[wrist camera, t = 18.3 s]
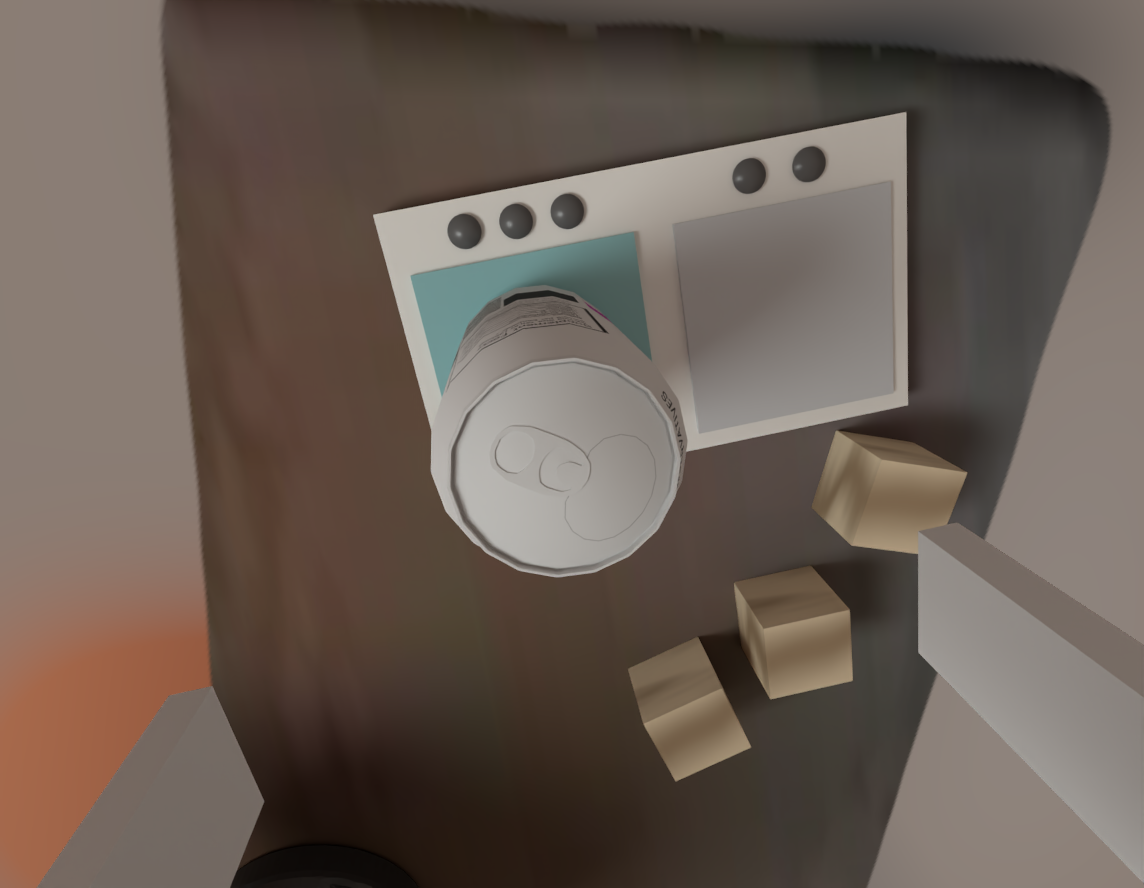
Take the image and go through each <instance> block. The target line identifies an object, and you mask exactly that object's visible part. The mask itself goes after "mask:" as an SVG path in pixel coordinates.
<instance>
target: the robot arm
mask: <svg viewBox="0 0 1144 888" xmlns="http://www.w3.org/2000/svg"><path fill="white" fill-rule="evenodd" d="M918 653H919V654H920V655H921V656H922V657H923V658H924V659H925V660H926V661H927V662H928V663H929V664H930V665H931V666H932V667H933V668H934V669H935V670H936V671H937V672H938V673H939V674H940V675H941V676H942V677H943V678H944V679H945V680H946V681H947V682H948V683H949V684H950V685H951V686H952V687H953V688H954V689H955V690H956V691H957V692H958V694H959V695H961V697H962V698H963V699H964V700H965V701H966V702H967V703H968V704H969V705H970V706H971V707H972V708H973V709H974V710H975V711H976V712H977V713H978V714H979V715H980V716H981V717H982V718H983V719H984V720H985V721H986V722H987V723H988V724H989V725H990V726H991V727H992V728H993V729H994V730H995V731H996V732H997V733H998V735H1000V736H1001V738H1002V739H1004V741H1005V742H1006V743H1008V745H1009V746H1010V747H1011V748H1012V749H1013V750H1014V751H1015V752H1016V753H1017V754H1018V755H1019V756H1020V757H1021V758H1022V759H1023V760H1024V761H1025V762H1026V763H1027V764H1028V765H1029V766H1030V767H1031V768H1032V769H1033V770H1034V771H1035V772H1036V773H1037V774H1038V776H1039V777H1040V778H1042V780H1043V781H1044V782H1045V783H1046V784H1047V785H1048V786H1049V787H1050V788H1051V789H1052V790H1053V791H1054V792H1055V793H1056V794H1057V795H1058V796H1059V797H1060V798H1061V799H1062V800H1063V801H1064V802H1065V803H1066V804H1067V805H1068V806H1069V807H1070V808H1071V809H1072V810H1073V811H1074V812H1075V813H1076V814H1077V815H1078V817H1079V818H1080V819H1081V820H1083V822H1084V823H1085V824H1086V825H1087V826H1088V827H1089V828H1090V829H1091V830H1092V831H1093V832H1094V833H1095V834H1096V835H1097V836H1098V837H1099V838H1100V839H1101V840H1102V841H1103V842H1104V843H1105V844H1106V845H1107V846H1108V847H1109V848H1110V849H1111V850H1112V851H1113V852H1114V853H1115V854H1116V855H1117V857H1118V858H1119V859H1120V860H1122V862H1123V863H1124V864H1125V865H1126V866H1127V867H1128V868H1129V869H1130V870H1131V871H1132V872H1133V873H1134V874H1135V875H1136V876H1137V877H1138V878H1139V879H1140V880H1141V881H1142V882H1143V883H1144V645H1143V644H1141V643H1140V642H1138V641H1137V640H1135V639H1134V638H1132V637H1131V636H1129V635H1128V634H1126V633H1125V632H1123V631H1122V630H1120V629H1119V628H1117V627H1116V626H1114V625H1113V624H1111V623H1110V622H1108V621H1106V620H1105V619H1103V618H1102V617H1100V616H1099V615H1097V614H1096V613H1094V612H1093V611H1091V610H1090V609H1088V608H1087V607H1085V606H1083V605H1082V604H1081V603H1079V602H1077V601H1076V600H1074V599H1073V598H1071V597H1070V596H1068V595H1067V594H1065V593H1064V592H1062V591H1060V590H1059V589H1058V588H1056V587H1055V586H1053V585H1052V584H1050V583H1049V582H1047V581H1046V580H1044V579H1042V578H1041V577H1039V576H1038V575H1036V574H1035V573H1033V572H1032V571H1030V570H1029V569H1027V568H1026V567H1024V566H1023V565H1021V564H1020V563H1018V562H1017V561H1015V560H1014V559H1012V558H1011V557H1009V556H1007V555H1006V554H1004V553H1003V552H1001V551H1000V550H998V549H997V548H995V547H994V546H992V545H991V544H989V543H988V542H986V541H985V540H983V539H982V538H980V537H979V536H977V535H976V534H974V533H972V532H971V531H969V530H968V529H966V528H965V527H963V526H962V525H960V524H959V523H953V524H948V525H944V526H939V527H935V528H930V529H926V530H921V531H918ZM263 804H264V800H263V797H262V795H261V793H260V791H259V789H258V786H257V784H256V782H255V780H254V777H253V775H252V773H251V771H250V769H249V766H248V764H247V762H246V760H245V758H244V755H243V753H242V751H241V749H240V747H239V744H238V742H237V740H236V738H235V735H234V733H233V731H232V729H231V727H230V724H229V722H228V720H227V718H226V716H225V713H224V711H223V709H222V707H221V704H220V702H219V700H218V698H217V696H216V693H215V691H214V689H213V687H212V686H211V687H206V688H202V689H197V690H193V691H188V692H184V693H179V694H175V695H170V696H168V698H167V699H166V701H165V702H164V704H163V705H162V707H161V708H160V709H159V711H158V712H157V714H156V715H155V717H154V718H153V720H152V721H151V723H150V724H149V725H148V727H147V728H146V730H145V731H144V733H143V734H142V736H141V737H140V739H139V740H138V742H137V743H136V745H135V746H134V747H133V749H132V750H131V752H130V753H129V755H128V756H127V757H126V759H125V760H124V762H123V763H122V765H121V766H120V768H119V769H118V770H117V772H116V773H115V775H114V776H113V778H112V779H111V781H110V782H109V784H108V785H107V787H106V788H105V789H104V791H103V792H102V794H101V795H100V797H99V798H98V800H97V801H96V802H95V804H94V806H93V807H92V808H91V810H90V811H89V813H88V814H87V816H86V817H85V818H84V820H83V821H82V823H81V824H80V826H79V827H78V829H77V830H76V832H75V833H74V834H73V836H72V837H71V839H70V840H69V842H68V843H67V845H66V846H65V847H64V849H63V851H62V852H61V853H60V855H59V856H58V858H57V859H56V861H55V862H54V863H53V865H52V866H51V868H50V869H49V871H48V872H47V874H46V875H45V876H44V878H43V879H42V881H41V882H40V884H39V885H38V887H37V888H418V886H417V885H416V884H415V882H414V881H413V880H412V879H411V878H410V877H409V876H408V875H407V874H406V873H405V872H403V871H402V870H401V869H400V868H398V867H397V866H395V865H394V864H392V863H390V862H389V861H387V860H385V859H383V858H380V857H378V856H376V855H373V854H371V853H368V852H364V851H361V850H357V849H352V848H347V847H340V846H328V845H315V846H302V847H295V848H290V849H285V850H281V851H277V852H274V853H271V854H268V855H266V856H263V857H261V858H259V859H256V860H254V861H253V862H251V863H249V864H247V865H246V866H244V867H242V868H241V869H240V870H238V871H237V869H238V866H239V864H240V861H241V859H242V856H243V854H244V851H245V849H246V846H247V844H248V841H249V839H250V836H251V834H252V831H253V829H254V826H255V824H256V821H257V819H258V816H259V814H260V811H261V809H262V806H263ZM236 871H237V872H236Z"/></svg>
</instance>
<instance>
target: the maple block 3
mask: <svg viewBox="0 0 1144 888" xmlns="http://www.w3.org/2000/svg"><path fill="white" fill-rule="evenodd" d="M966 475H967V472H966V471H964V470H962V469H960V468H958V467H957V466H955V465H953V464H951V463H949V462H948V461H946V460H944V459H942V458H940V457H939V456H937V455H935V454H933V453H931V452H930V451H928V450H926V449H924V448H922V447H921V446H919V445H917V444H915V443H913V442H908V441H902V440H895V439H889V438H883V437H876V436H870V435H863V434H857V433H850V432H844V431H837V430H836V433H835V436H834V439H833V442H832V445H831V448H830V451H829V455H828V458H827V461H826V464H825V467H824V470H823V473H822V476H821V479H820V482H819V486H818V489H817V492H816V495H815V498H814V501H813V504H812V507H811V508H813V509H814V510H815V511H816V512H817V513H818V514H819V515H820V516H821V517H822V518H823V519H824V520H825V521H826V522H827V523H828V524H829V525H830V526H832V527H833V528H834V529H835V530H836V531H837V532H838V533H839V534H840V535H841V536H842V537H843V538H844V539H845V540H846V541H847V542H848V543H849V544H851V545H852V546H859V547H867V548H875V549H883V550H891V551H899V552H907V553H914V554H918V531H921V530H926V529H930V528H935V527H939V526H944V525H947V523H948V521H949V518H950V516H951V513H952V511H953V508H954V505H955V503H956V500H957V498H958V495H959V493H960V490H961V488H962V485H963V483H964V480H965V478H966Z"/></svg>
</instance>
